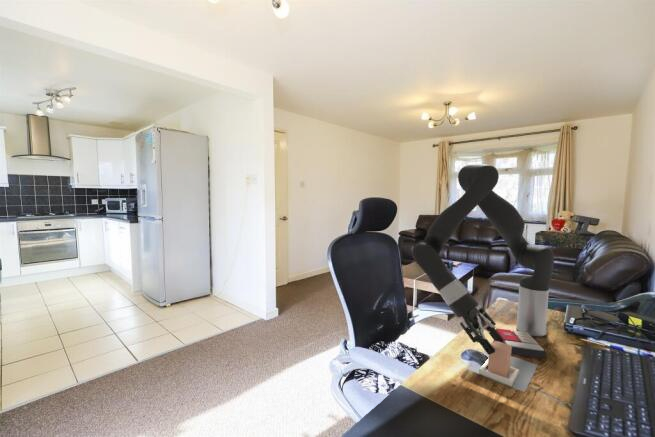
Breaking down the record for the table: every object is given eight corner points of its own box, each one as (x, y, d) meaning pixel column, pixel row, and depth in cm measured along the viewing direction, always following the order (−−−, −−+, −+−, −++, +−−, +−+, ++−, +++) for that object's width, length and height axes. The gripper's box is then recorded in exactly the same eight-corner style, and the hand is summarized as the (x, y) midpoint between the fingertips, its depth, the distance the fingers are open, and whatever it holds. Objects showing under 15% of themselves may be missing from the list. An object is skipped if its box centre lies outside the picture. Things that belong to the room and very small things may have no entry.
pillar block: (492, 366, 88) (494, 340, 87) (509, 372, 85) (511, 345, 84) (487, 372, 84) (489, 345, 84) (505, 379, 81) (507, 351, 81)
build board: (486, 351, 99) (487, 344, 99) (537, 368, 89) (538, 361, 89) (467, 373, 86) (467, 365, 86) (523, 396, 76) (524, 387, 76)
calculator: (528, 331, 107) (546, 349, 93) (527, 343, 107) (546, 363, 93) (494, 326, 110) (506, 344, 96) (493, 338, 110) (506, 357, 96)
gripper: (458, 297, 84) (501, 351, 77) (475, 286, 95) (514, 333, 88) (439, 310, 89) (478, 362, 81) (457, 298, 99) (493, 344, 92)
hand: (497, 347), depth 85 cm, fingers open, 8 cm apart
